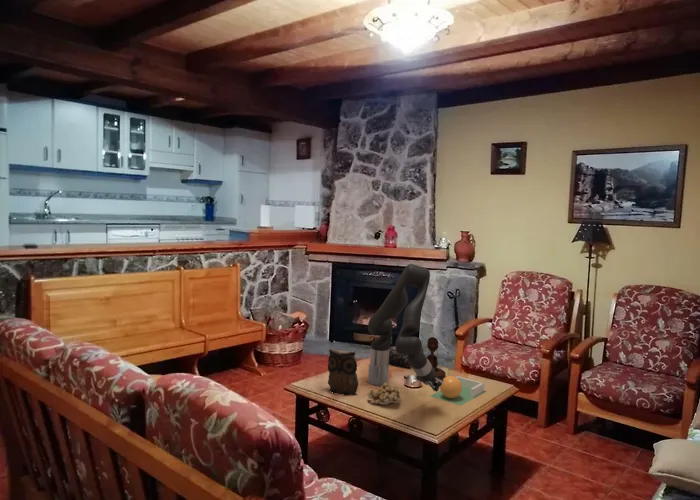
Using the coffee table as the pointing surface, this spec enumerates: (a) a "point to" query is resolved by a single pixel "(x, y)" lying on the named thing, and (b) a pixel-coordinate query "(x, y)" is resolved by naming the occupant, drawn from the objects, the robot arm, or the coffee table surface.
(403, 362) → the pine cone
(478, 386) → the white side walls
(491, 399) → the coffee table surface
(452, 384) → the ball
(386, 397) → the mineral formation
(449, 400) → the felt strip
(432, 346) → the dark wooden ornament
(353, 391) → the owl
